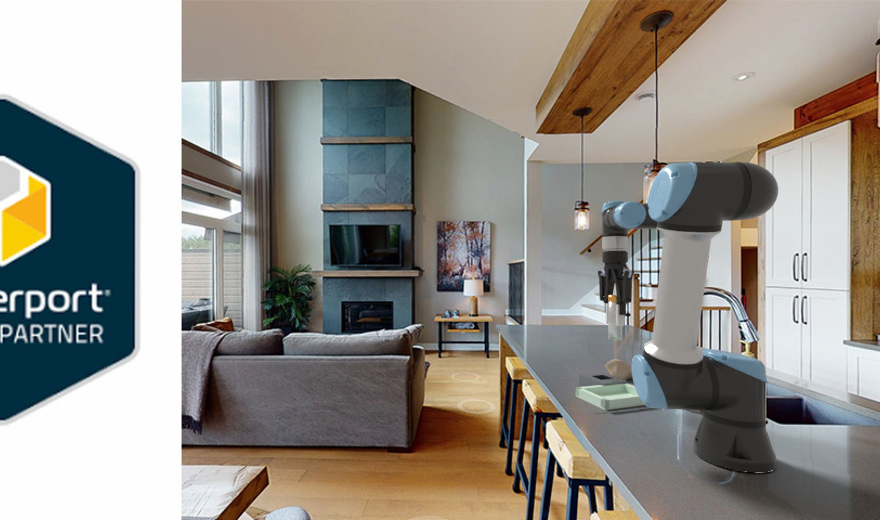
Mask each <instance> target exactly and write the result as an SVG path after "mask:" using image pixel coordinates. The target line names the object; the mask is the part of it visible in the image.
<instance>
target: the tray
mask: <svg viewBox="0 0 880 520" xmlns="http://www.w3.org/2000/svg"><path fill="white" fill-rule="evenodd" d="M575 397H576V398H578V399H580V400H582V401H585V402H587V403H589V404H592V405H593V406H596V407H598V408H599V409H601V410H604V411H608V410H616V409H617V410H618V409H622V408H631V407H638V406H646V405H645V404H644V403H643V402H642V401H641V400H640V398H639V396H638V394H637V392H636V389H635V385H634V384H633V385H632V384H630V383H628V382H627V383H623V384H613V385H604V386H602V385H596V386H586V387H584V386H578V387H575Z"/></svg>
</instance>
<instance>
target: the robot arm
mask: <svg viewBox="0 0 880 520" xmlns="http://www.w3.org/2000/svg"><path fill="white" fill-rule="evenodd" d="M778 195H779V184H778V182H777V180H776V177H775V176H774V175H773V174H772V172H770V171H769V170H768V169H767V168H766V167H764V166H761V165H759V164H756V163H752V162H746V161H735V162H732V161H729V162H728V161H726V162H722V161H721V162H718V161H717V162H711V161H710V162H708V161H706V162H702V161H701V162H693V161H688V162H680V163H679V162H678V163H677V162H676V163H670V164H668V165H665V166H664V167H663V168H662V169H660V170H659V172H658V173H657V174H656V176H655V177H654V179H653V180H652V183H651V186H650V190H649V194H648V199H647V202H643V203H642V202H638V201H636V200H635V201H634V200H633V201H632V200H631V201H622V200H611V201H605V202H604V203H603V204H602V209H601V210H602V212H601V223H602V224H601V225H602V226H601V228H602V229H601V231H602V236H601V246H602V247H601V248H602V250H603V251H602V253H601V257H602V258H601V261H602V263H603V264H604V267H603V269H601V270H598V271H597V275H598V283H599V284H598V286H599V287H598V288H599V290H598V291H599V300H600V301H601V302H602V303H604V314H605V325H608V295H614V293H616V295H617V299H618V303H616V304H617V305H616V326H622V327H623V326H625V325H626V323H625V321H626V314H627V305H628V304H630V303H632V298H633V297H632V296H633V295H632V294H633V277H634V274H635V272H634V270H630V269H628V267H627V264H626V263H628V261H629V252H628V251H627V250H628V248H629V247H628V244H629V243H628V242H629V241H628V240H629V238H628V236H629V235H628V234H629V233H628V232H629V230H658V231H659V232H660V233H661V234H662V236H663V239H662V241H663V242H662V248H661V257H660V258H661V259H660V267H659V275H658V283H657V285H658V286H657V293H656V303H655V309H654V310H655V313H654V320H653V327H652V328H653V329H652V338H651V339H650V340H649V341H647V342H645V343H644V344H643V353H642V354H640V353H639V354H635V355H634V356H633V357H632V360H631V367H632V377H633V378H632V382H633V386H635V389H636V392H637V394H638V396H639V398H640V400H641V401H642V402H643V403H644V404H645V405H644V406H646V407H647V408H650V409H651V408H652V409H660V410H661V409H662V410H664V411H668V410H685V411H687V410H703V414H702V418H701V420H700V423H699V425H698V427H697V430H696V433H695V435H694V438H693V452H694V454H696V456H698V457H699V458H700V459H702V460H703V461H706V462H709V463H710V464H712V465H715V466H717V465H718V467H720V466H721V468H723V467H724V469H727V468H729V469H728V470H730V469H733V470H732V471H735V470H738V471H737V472H739V471H747V472H768V471H771V470H774V469H775V468H776V469H777V455H776V453H775V451H774V448H773V445H772V442H771V440H770V436H769V433H768V431H767V428H766V427H767V423H766V421H767V419H766V417H767V383H768V380H767V374H766V372H767V371H766V365H764V363H763V361H761V360H759V359H757V358H754V357H752V356H749V355H746V354H745V355H744V354H740V353H735V352H730V351H726V350H719V349H712V348H705V349H703V350H702V351H700V350H699V348H698V347H697V344H698V337H699V330H700V324H701V323H700V322H701V314H702V308H703V302H704V293H705V287H706V281H707V278H706V277H707V272H708V264H709V257H710V250H711V244H712V239H713V238H714V237H716V236H718V235H719V234H721V232H722V229H723V228H722V227H723V222H724V221H726V222H729V221H730V222H732V221H746V220H752V219H755V218H757V217H759V216H763V215H764V214H765V213H767V212H768V211H769V210H771V208H772V207H773V206H774V205H775V203H776V201H777V199H778ZM614 290H615V291H616V292H614ZM776 469H775V470H776ZM775 470H774V471H775Z"/></svg>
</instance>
